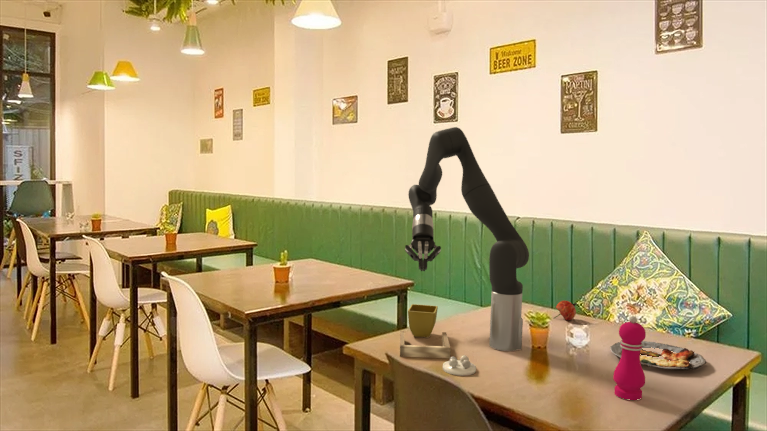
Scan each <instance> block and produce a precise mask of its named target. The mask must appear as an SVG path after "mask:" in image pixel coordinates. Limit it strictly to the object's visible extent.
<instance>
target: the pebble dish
mask: <svg viewBox="0 0 767 431" xmlns="http://www.w3.org/2000/svg"><path fill="white" fill-rule="evenodd" d="M442 371H443V372H445V373H446V374H449V375H452V376H453V375H454V376H461V377H462V376H463V377H464V376H470V375H474V374H475V373H477V365H476V364H474V363H473V362H471V361H470V360H469V356H468V355H465V354H463V355H461V356H460V358H459V359H457V357H455V356H453V355H452V356H450V358H449V360H448V361H445V362H443V364H442Z"/></svg>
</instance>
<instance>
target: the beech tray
mask: <svg viewBox="0 0 767 431" xmlns="http://www.w3.org/2000/svg"><path fill="white" fill-rule="evenodd" d="M399 333H400V334H399V335H400V336H399V357H408V358H410V357H411V358H437V359H450V358H451V345H450V341H449V338H448V333H447V332H445V331H443V332H441V333H442V334H441V342H442V343H441V344H442V345H414V344H412V345H411V344H405V330H400V332H399Z"/></svg>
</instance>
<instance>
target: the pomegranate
mask: <svg viewBox="0 0 767 431" xmlns="http://www.w3.org/2000/svg"><path fill="white" fill-rule="evenodd" d="M576 305H577V306H578V303H577V302H575V303H572V302H571V301H568V300H566V299H565V300H560V301H559V302H558V303H557V304H556V306H555V308H556V309H557V310H558V311H559V314H557V315H556V316H554V317H553V319H556V318H557V317H559V316H562V317H563V319H564V320H565V321H571V320H573V319H574V318H575V317H576V314H577V310H576V307H575V306H576Z"/></svg>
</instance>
